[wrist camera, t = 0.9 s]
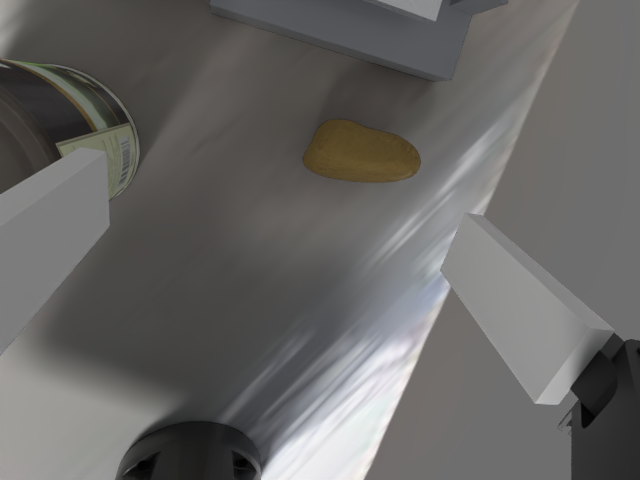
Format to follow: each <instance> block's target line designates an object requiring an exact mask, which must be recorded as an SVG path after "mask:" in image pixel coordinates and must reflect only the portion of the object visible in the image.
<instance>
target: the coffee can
mask: <svg viewBox="0 0 640 480" xmlns="http://www.w3.org/2000/svg"><path fill="white" fill-rule="evenodd" d="M80 147H83V148H89V149H94V150H100V151H106V153H107V174H108V195H109V201H110V200H111V199H113V198H115V197H116V196H118V195H119V194H120V193H121V192H122V191H123V190H125V188H126V187H127V186H128V185H129V184H130V182H131V181H132V179H133V177H134V176H135V173H136V170H137V167H138V162H139V155H140V149H139V139H138V134H137V131H136V128H135V124H134V122H133V120H132V118H131V116H130V115H129V113H128V111H127V109H126V108H125V107H124V105H123V104H122V102H121V101H120V100H119V99H118V98H117V97H116V96H115V95H114V94H113V93H112V92H111V91H110V90H109V89H108V88H107V87H105V86H104V85H103V84H101V83H100V82H99V81H97V80H96V79H94V78H93V77H91V76H89V75H87V74H85V73H82V72H80V71H78V70H75V69H72V68H69V67H65V66H60V65H53V64H37V63H30V62H22V61H14V60H7V59H0V194H2V193H4V192H5V191H7V190H9V189H10V188H12V187H14V186H15V185H17V184H19V183H21V182H22V181H24V180H26V179H27V178H29V177H31V176H32V175H34V174H36V173H38V172H39V171H41V170H43V169H44V168H46V167H48V166H49V165H51V164H53V163H54V162H56V161H58V160H60V159H61V158H63V157H65V156H66V155H68V154H70V153H71V152H73V151H75V150H77V149H78V148H80Z"/></svg>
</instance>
